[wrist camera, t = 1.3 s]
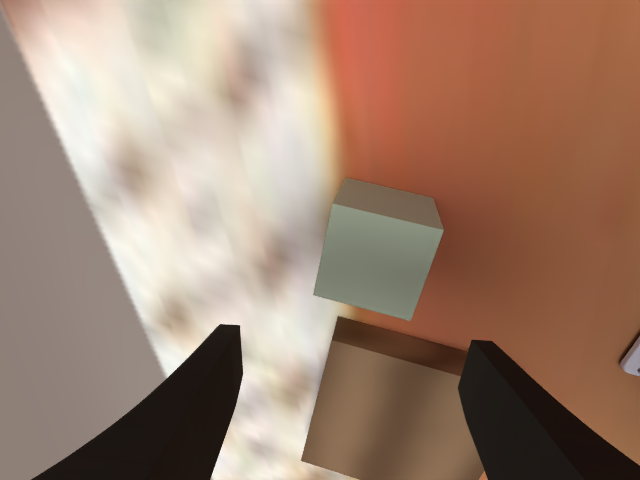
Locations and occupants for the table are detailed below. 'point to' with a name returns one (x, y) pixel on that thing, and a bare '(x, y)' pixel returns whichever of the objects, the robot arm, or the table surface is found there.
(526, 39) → the table surface
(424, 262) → the sage wooden cube
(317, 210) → the table surface
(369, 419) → the walnut riser block
